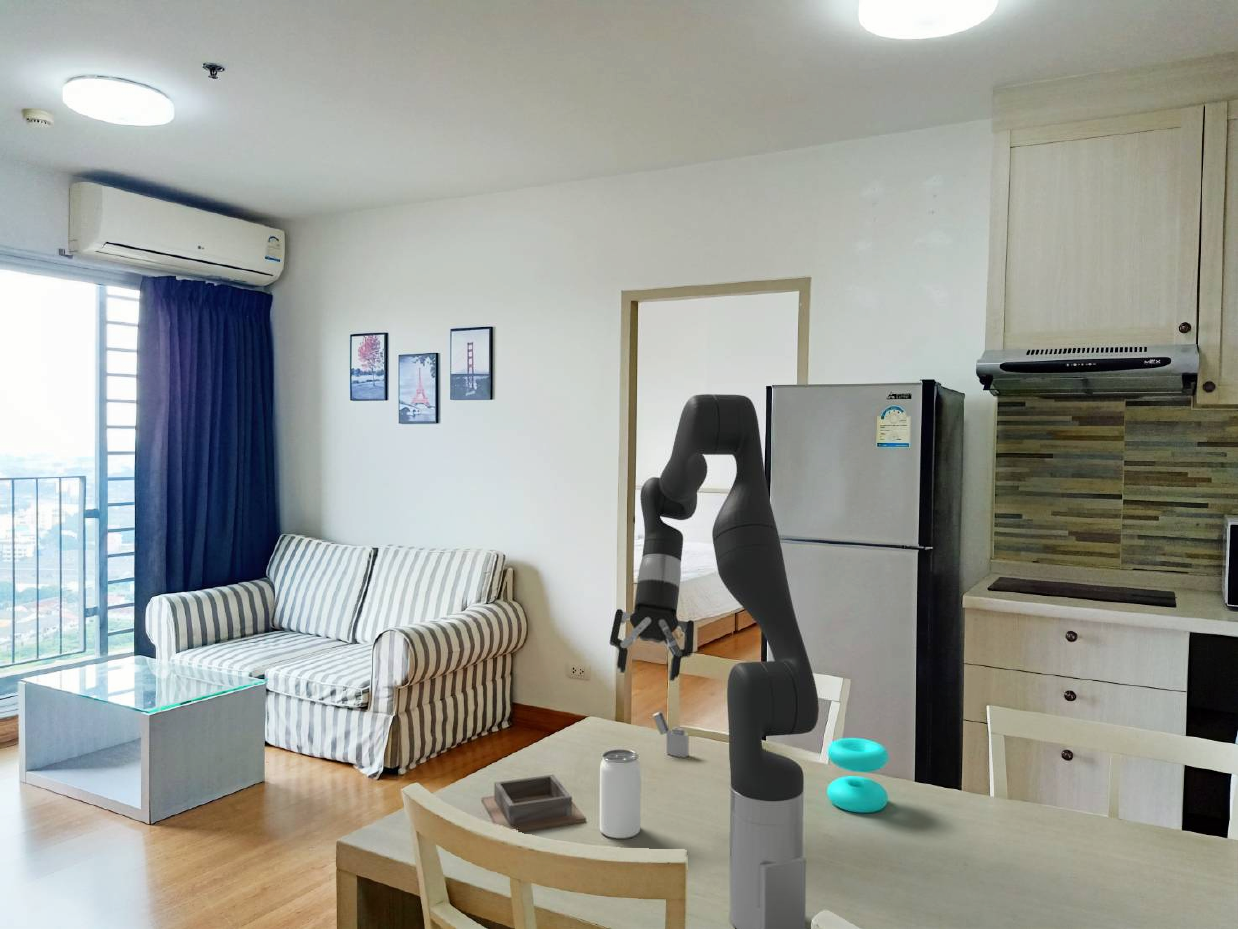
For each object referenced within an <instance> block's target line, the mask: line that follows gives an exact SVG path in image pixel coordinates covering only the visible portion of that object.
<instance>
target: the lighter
mask: <svg viewBox="0 0 1238 929" xmlns="http://www.w3.org/2000/svg"><path fill="white" fill-rule="evenodd" d="M652 717H653V720H654V722H655V724H656V727H657V729H658V732H659V734H660V736H661V735H665V734H666V755H667V754H670V755H669V756H671V755H674V756H673V757H677V756H678V757H677V758H683V757H686V758H688V757H687V756H688V755H690V753H689V752H690V751H689V750H690V747H689V746H690V744H689V743H690V741H689V740H690V734H689V733H687V732H685V730H684V729H683V728H682V727H677V726H673V728H672V730H670V728H669V726H668V723H667V721H666V718H665V716H664V713H663V711H662V710H660V711H657V712H655V713H653V714H652Z"/></svg>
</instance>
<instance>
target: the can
mask: <svg viewBox="0 0 1238 929" xmlns="http://www.w3.org/2000/svg"><path fill="white" fill-rule="evenodd" d="M640 762H641V761H640V760H639V754H638V753H637V752H635V751H632V750H630V749H629V750H628V749H613V750H612V749H611V750H607V751H606V752H604V753H603V754H602V760H601V761H600V765H599V766H600V767H599V831H600V832H601V833H602V834H603V835H604V836H605V837H606V838H610V839H615V840H626V839H631V838H634V837H635V836H637V835H638V833H640V831H641V812H642V811H641V809H642V808H641V807H642V805H641V803H642V801H641V800H642V799H641V798H642V796H641V795H642V794H641V793H642V788H641V787H642V786H641V785H642V775H641V774H642V773H641V772H642V771H641V768H642V766H641V763H640Z"/></svg>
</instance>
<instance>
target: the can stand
mask: <svg viewBox="0 0 1238 929" xmlns="http://www.w3.org/2000/svg"><path fill="white" fill-rule="evenodd" d="M493 786H494V792H493V793H494V794H493V795H490V796H483V797H481V802H482V804H483V806H484V808H485V810H486V812H487V813H488V815H489V817H490V818H491V821H492V822H493V824H494V823H496V824H499V825H503V826H505V827H508V828H510V829H516V830H518V831H521V832H520V833H523V832H529V831H536V830H542V829H547V828H548V829H549V828H554V827H556V828H557V827H560V826H567V825H574V824H580V823H586V821H587V818H586V816H585V815H584V814H583V812H582V811H581V810H580V809H579V808H578V807H577V805H576V804H575V803H574V801H573V797H572V795H571V794H570V793H569V792H568V791H567V789H566V788H565V787H564V786H563V785H562V783H561V782H560V781H559V780H558V778H557V777H556V776H555V775H554V774H549V775H547V774H546V775H541V776H535V777H534V776H533V777H526V778H518V779H511V780H504V781H496V782H494V784H493Z"/></svg>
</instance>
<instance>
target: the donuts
mask: <svg viewBox="0 0 1238 929" xmlns="http://www.w3.org/2000/svg"><path fill="white" fill-rule="evenodd" d="M827 756H828V757H829V759H830V761H831V762H832V763H833V764H834V765H835V766H837V767H839V768H841V769H843V770H846V771H850V772H854V773H871V772H876V771H878V770H881V769H883V768H884V767H885V766H886V765H887V763H888V760H889V753H888V750H887V749H886V748H885V746H883V745H882V744H880V743H878V742H875V741H873V740H869V739H866V738H857V737H844V738H839V739H836V740H834V741H832V742H831V743H830V745H829V746H828V747H827ZM826 791H827V792H826V793H827V794H826V795H827V798H828V799H829V801H830V802H831V803H832V804H833V805H834V806H836V807H838V808H840V809H842V810H845V811H849V812H854V813H874V812H878V811H880V810H882V809H883V808H885V807H886V806H887V804H888V801H889V797H888V796H889V795H888V793H887V791H886V789H885V788H884V786H882V785H881V784H880V783H879V782H877V781H874V780H873V779H870V778H868V777H863V776H858V775H857V776H856V775H855V776H854V775H851V776H849V775H848V776H842V777H838V778H836V779H835V780H833V781H832V782H831V783H830V784H829V785H828V787H827V790H826Z"/></svg>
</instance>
